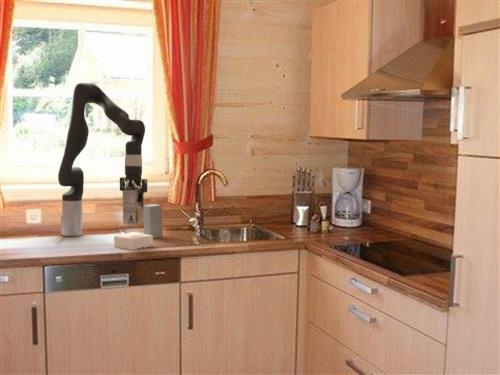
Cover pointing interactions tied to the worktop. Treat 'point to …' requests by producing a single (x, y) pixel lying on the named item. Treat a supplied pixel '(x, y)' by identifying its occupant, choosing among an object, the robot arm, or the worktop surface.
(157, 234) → the skincare box
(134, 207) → the coffee box
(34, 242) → the worktop surface
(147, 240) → the cream block
